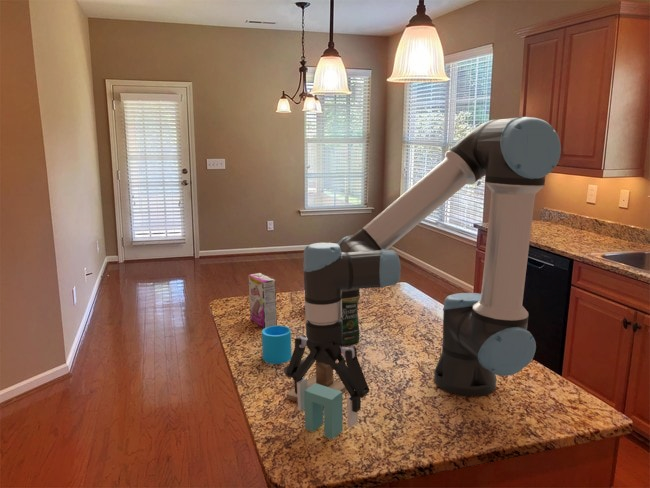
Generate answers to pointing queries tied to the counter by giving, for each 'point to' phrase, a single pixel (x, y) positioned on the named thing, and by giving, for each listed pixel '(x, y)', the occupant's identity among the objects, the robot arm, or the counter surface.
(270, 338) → the mug
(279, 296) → the counter surface
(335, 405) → the c link
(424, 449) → the counter surface
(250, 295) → the candy bar box
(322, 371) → the stand
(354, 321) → the coffee jar
